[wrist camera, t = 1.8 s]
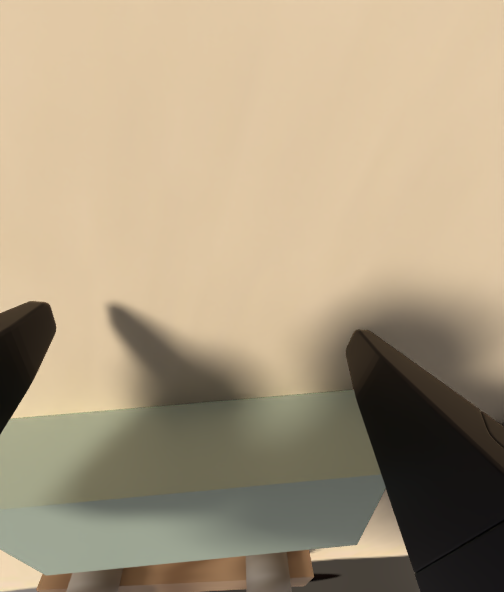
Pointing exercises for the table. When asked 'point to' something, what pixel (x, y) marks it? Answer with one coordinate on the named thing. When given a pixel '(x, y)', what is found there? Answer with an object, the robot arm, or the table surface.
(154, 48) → the table surface
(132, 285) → the table surface
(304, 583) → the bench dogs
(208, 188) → the table surface
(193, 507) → the painted plate block
